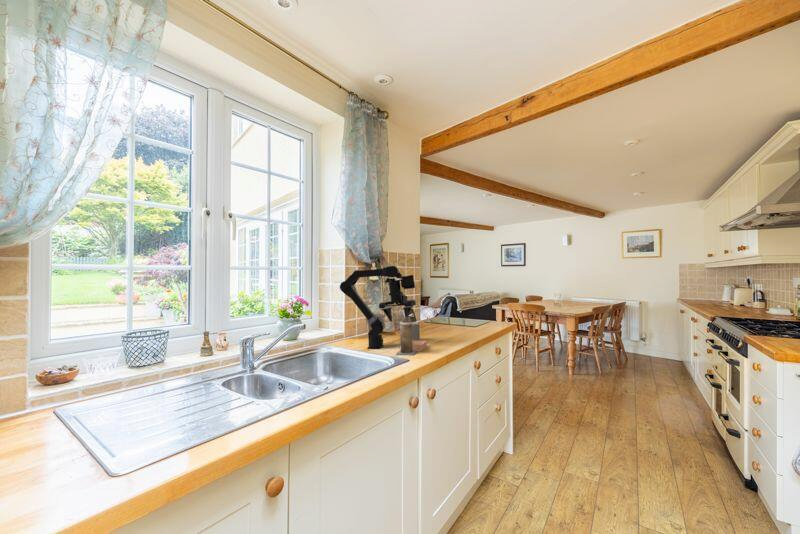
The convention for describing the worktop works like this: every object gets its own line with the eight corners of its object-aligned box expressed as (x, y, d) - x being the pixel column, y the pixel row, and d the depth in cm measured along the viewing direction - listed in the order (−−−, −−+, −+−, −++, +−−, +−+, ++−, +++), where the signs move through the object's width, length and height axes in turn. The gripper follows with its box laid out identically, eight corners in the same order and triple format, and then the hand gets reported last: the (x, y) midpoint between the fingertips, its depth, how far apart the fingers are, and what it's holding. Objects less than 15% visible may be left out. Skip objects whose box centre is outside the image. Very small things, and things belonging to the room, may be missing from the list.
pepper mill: (398, 351, 157) (396, 317, 158) (406, 349, 161) (405, 316, 162) (406, 353, 153) (405, 318, 154) (415, 351, 157) (413, 317, 158)
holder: (404, 350, 163) (404, 344, 163) (410, 346, 171) (409, 340, 171) (422, 350, 160) (421, 344, 160) (426, 346, 168) (426, 340, 168)
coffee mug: (414, 344, 175) (413, 325, 176) (398, 343, 181) (397, 324, 181) (426, 339, 187) (425, 321, 187) (410, 338, 192) (410, 320, 192)
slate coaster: (396, 354, 154) (396, 353, 154) (400, 350, 162) (400, 349, 162) (413, 355, 152) (413, 353, 152) (417, 351, 160) (416, 349, 160)
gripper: (418, 287, 173) (422, 317, 173) (387, 290, 182) (391, 318, 182) (408, 289, 164) (412, 321, 163) (376, 292, 172) (380, 322, 172)
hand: (399, 321), depth 170 cm, fingers open, 9 cm apart
